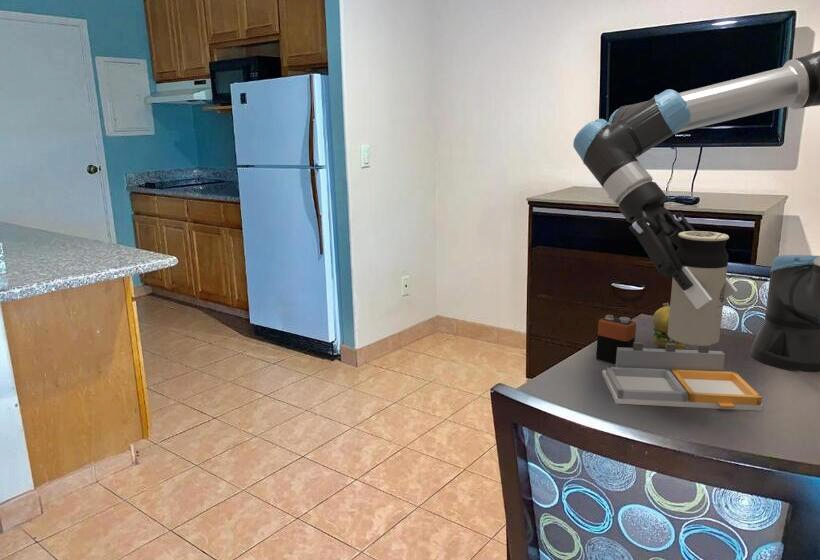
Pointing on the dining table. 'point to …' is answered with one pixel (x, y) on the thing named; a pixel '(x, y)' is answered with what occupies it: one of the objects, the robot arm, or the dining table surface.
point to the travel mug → (710, 270)
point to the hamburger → (663, 328)
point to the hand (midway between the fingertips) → (717, 299)
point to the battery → (614, 337)
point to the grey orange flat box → (677, 379)
